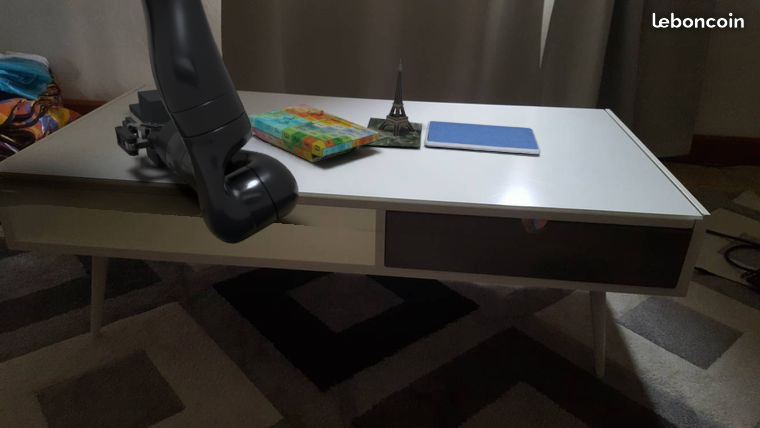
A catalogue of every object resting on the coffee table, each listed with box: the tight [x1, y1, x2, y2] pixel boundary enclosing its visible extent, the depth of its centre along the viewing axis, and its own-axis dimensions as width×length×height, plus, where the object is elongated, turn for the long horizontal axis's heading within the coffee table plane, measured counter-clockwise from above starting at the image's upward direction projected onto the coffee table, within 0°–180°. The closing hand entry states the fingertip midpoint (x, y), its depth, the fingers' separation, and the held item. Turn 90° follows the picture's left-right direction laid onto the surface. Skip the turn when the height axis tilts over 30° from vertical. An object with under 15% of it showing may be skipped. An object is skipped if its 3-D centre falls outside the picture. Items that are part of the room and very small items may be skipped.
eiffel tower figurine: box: [362, 58, 423, 148], centre depth 99 cm, size 15×10×13 cm
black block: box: [136, 88, 171, 169], centre depth 85 cm, size 4×6×10 cm, turn 36°
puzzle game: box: [248, 103, 380, 163], centre depth 94 cm, size 12×5×20 cm
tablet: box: [423, 120, 541, 155], centre depth 100 cm, size 19×13×1 cm, turn 83°
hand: (157, 119), depth 85 cm, fingers open, 8 cm apart
